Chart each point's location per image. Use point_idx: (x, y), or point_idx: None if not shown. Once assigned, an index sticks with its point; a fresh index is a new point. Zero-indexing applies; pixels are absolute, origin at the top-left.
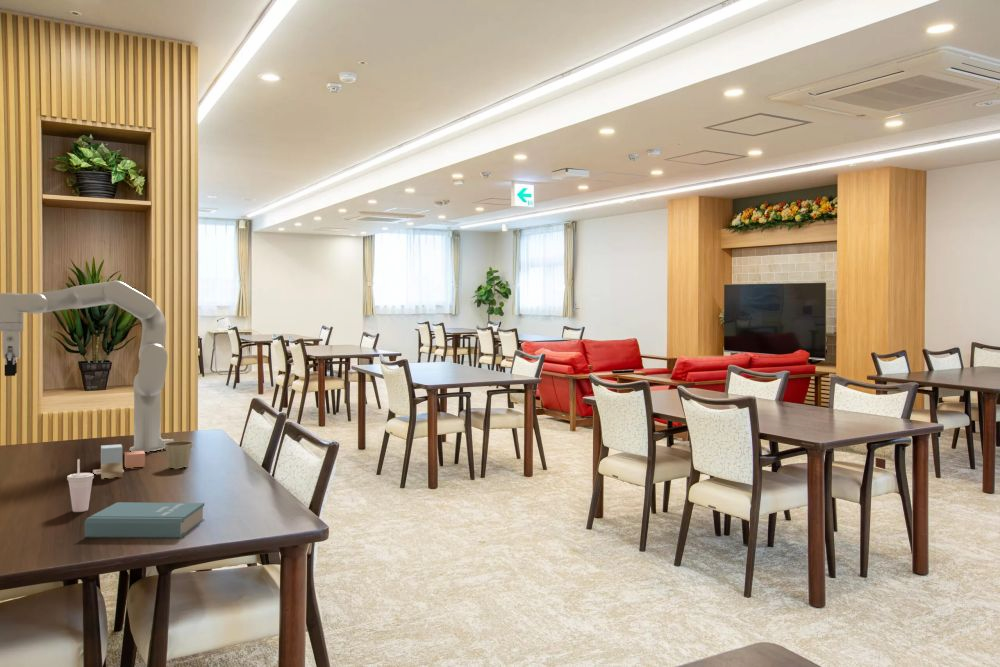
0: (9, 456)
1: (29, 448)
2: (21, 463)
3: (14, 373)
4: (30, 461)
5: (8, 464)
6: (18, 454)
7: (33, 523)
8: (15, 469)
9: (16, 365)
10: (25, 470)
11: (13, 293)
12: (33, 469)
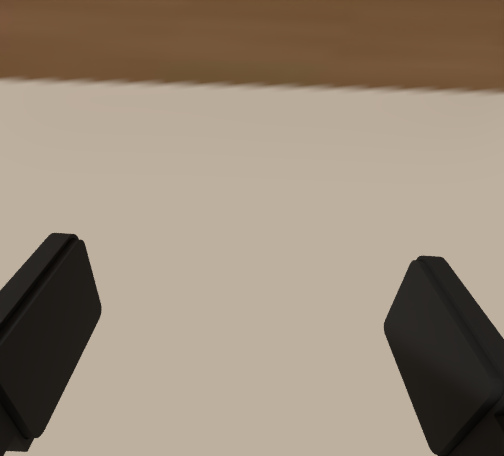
0: (169, 81)
1: (5, 4)
2: (329, 48)
3: (447, 279)
4: (308, 15)
5: (323, 88)
6: (138, 51)
7: None
8: (427, 70)
9: (5, 321)
10: (471, 41)
11: None
12: (474, 13)
